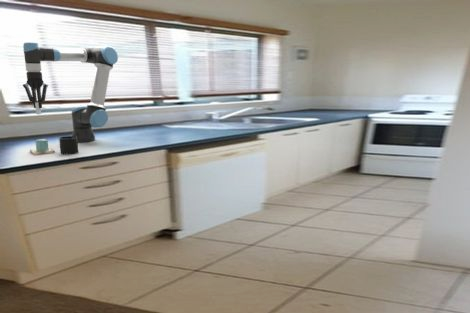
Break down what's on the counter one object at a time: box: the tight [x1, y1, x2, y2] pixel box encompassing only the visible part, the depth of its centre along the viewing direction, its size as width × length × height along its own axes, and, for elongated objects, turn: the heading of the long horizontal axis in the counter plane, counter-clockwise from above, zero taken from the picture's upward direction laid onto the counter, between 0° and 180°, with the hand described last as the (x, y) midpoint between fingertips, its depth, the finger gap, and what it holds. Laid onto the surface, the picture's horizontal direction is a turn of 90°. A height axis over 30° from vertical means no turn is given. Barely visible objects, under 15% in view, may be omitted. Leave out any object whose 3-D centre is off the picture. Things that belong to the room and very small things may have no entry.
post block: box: [30, 147, 56, 156], centre depth 209 cm, size 11×11×5 cm
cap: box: [35, 138, 50, 151], centre depth 209 cm, size 6×6×6 cm
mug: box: [58, 135, 79, 155], centre depth 209 cm, size 9×12×9 cm
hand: (38, 114), depth 205 cm, fingers closed
